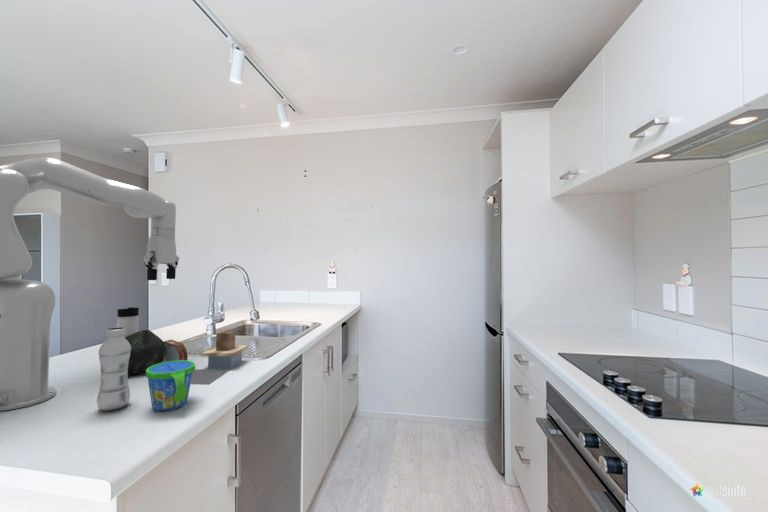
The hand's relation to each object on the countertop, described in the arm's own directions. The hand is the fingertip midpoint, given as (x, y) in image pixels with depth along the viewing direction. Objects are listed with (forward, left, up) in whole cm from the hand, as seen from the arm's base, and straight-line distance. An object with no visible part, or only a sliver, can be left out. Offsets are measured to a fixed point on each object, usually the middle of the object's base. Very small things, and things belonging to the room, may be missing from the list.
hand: (161, 279), depth 121 cm
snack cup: (-37, -29, -30) cm, 56 cm away
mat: (-17, -25, -30) cm, 43 cm away
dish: (-5, -27, -30) cm, 41 cm away
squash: (-13, -2, -30) cm, 33 cm away
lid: (-5, -27, -25) cm, 37 cm away
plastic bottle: (-39, -16, -30) cm, 52 cm away
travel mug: (-2, +11, -30) cm, 32 cm away
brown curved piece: (-5, -8, -30) cm, 32 cm away
